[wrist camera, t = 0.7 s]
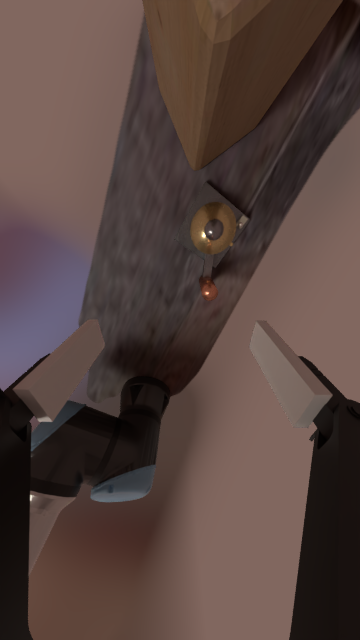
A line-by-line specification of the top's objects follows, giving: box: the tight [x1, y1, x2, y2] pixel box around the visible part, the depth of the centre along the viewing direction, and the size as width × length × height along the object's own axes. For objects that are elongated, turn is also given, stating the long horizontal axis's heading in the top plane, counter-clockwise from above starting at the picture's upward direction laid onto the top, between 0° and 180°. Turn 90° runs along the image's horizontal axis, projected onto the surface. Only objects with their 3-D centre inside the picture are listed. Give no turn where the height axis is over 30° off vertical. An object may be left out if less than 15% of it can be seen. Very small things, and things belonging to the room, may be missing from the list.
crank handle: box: [190, 202, 236, 301], centre depth 25 cm, size 13×7×7 cm, turn 178°
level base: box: [174, 182, 250, 268], centre depth 26 cm, size 9×9×2 cm
